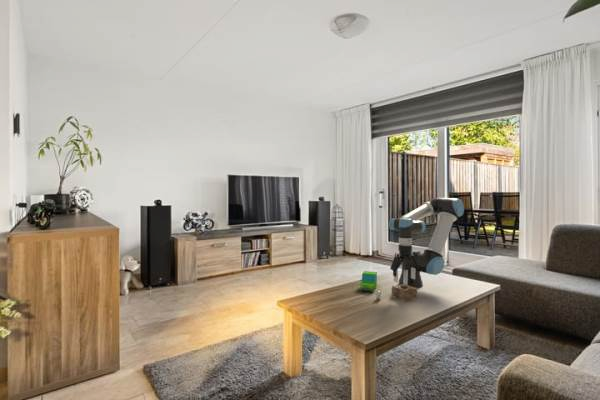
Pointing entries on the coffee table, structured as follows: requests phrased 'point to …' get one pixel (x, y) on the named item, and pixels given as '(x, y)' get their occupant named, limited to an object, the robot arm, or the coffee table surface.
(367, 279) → the toy car
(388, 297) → the coffee table surface
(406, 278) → the long pin
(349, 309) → the coffee table surface
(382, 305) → the coffee table surface
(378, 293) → the short pin
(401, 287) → the hole block
